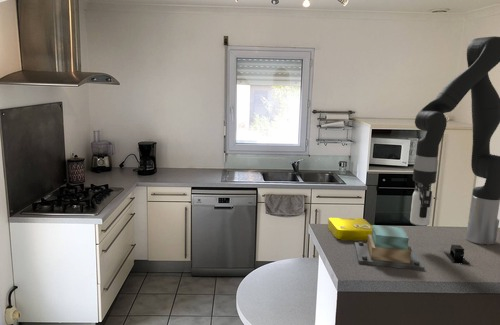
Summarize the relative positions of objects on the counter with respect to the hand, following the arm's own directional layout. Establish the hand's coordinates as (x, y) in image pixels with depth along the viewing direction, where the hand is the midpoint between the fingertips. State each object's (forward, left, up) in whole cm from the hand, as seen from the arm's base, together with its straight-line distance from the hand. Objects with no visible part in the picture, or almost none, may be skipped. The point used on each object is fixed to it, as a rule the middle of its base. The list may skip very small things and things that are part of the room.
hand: (420, 214), depth 146 cm
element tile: (+23, -7, -13) cm, 27 cm away
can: (0, 0, -4) cm, 4 cm away
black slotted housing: (-11, +8, -13) cm, 19 cm away
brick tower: (+12, +13, -12) cm, 22 cm away
